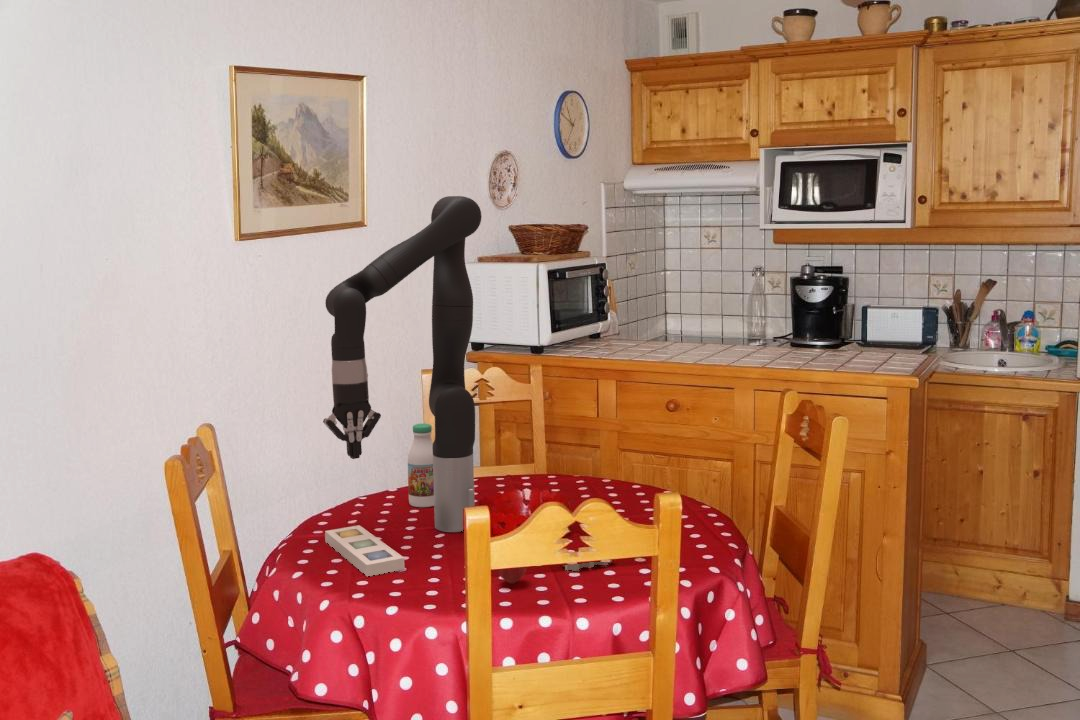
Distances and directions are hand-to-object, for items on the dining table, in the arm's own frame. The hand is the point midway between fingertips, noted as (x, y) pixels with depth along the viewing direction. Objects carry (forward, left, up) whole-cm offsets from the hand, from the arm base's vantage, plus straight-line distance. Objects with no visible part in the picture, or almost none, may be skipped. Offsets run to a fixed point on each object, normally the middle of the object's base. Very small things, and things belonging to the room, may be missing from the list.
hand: (354, 457), depth 228 cm
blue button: (-6, +16, -19) cm, 25 cm away
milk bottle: (-13, -30, -19) cm, 38 cm away
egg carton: (-48, +18, -20) cm, 55 cm away
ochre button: (+2, +1, -19) cm, 19 cm away
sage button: (-2, +8, -19) cm, 21 cm away
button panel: (-2, +8, -19) cm, 21 cm away
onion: (-33, +28, -19) cm, 48 cm away
